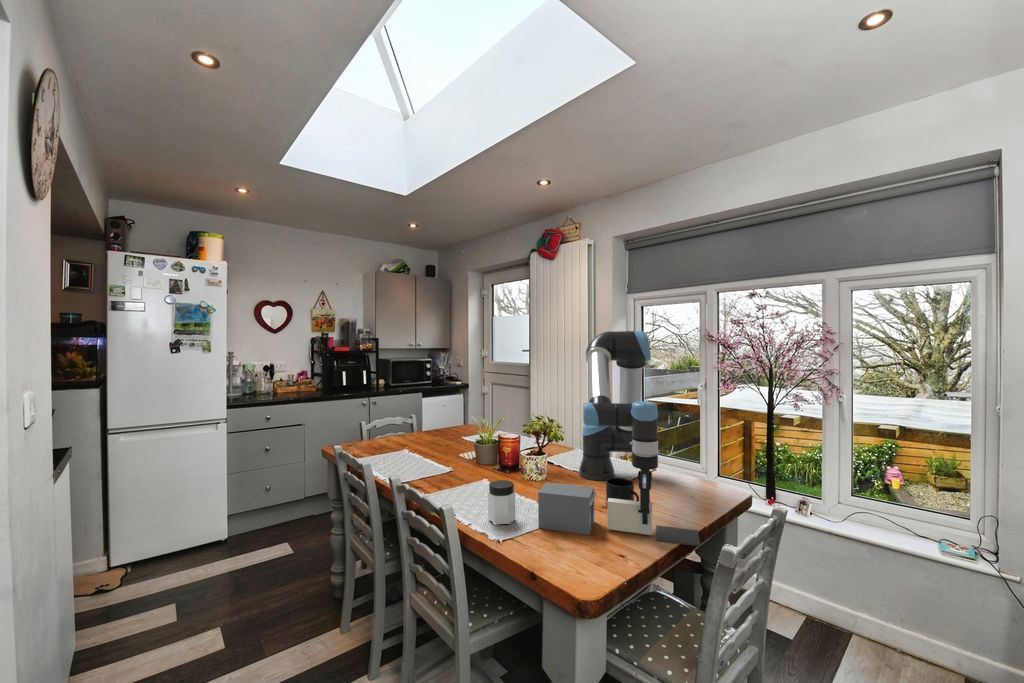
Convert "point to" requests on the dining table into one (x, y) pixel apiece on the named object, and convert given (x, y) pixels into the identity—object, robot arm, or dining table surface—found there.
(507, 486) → the jar
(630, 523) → the cream upright slab
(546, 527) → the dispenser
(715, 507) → the dining table surface
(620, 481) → the mug
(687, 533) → the mat
